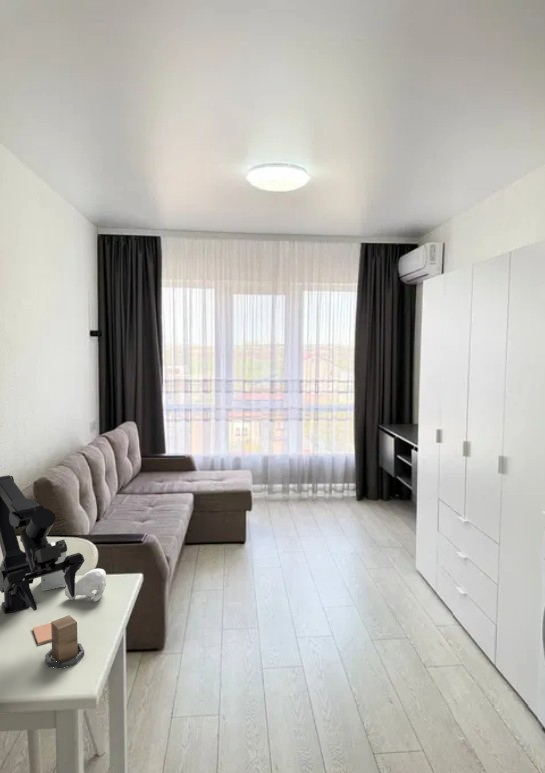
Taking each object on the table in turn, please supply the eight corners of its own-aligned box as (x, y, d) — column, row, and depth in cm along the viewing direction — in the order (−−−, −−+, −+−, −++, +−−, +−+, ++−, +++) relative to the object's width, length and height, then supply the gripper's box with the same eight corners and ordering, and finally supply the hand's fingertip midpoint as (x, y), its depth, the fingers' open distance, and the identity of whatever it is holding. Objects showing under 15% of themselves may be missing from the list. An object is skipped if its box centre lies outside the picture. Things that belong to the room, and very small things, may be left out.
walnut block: (52, 657, 121) (51, 621, 120) (70, 649, 124) (69, 615, 123) (59, 665, 118) (58, 629, 117) (77, 657, 121) (77, 622, 120)
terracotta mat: (32, 630, 132) (32, 627, 132) (64, 620, 137) (64, 618, 137) (38, 645, 126) (38, 642, 126) (71, 634, 130) (71, 632, 130)
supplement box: (41, 592, 153) (40, 552, 152) (41, 581, 160) (40, 543, 159) (67, 587, 156) (66, 548, 155) (66, 577, 162) (65, 539, 162)
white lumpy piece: (103, 572, 147) (60, 580, 144) (107, 600, 148) (64, 608, 145) (106, 563, 153) (64, 570, 151) (109, 590, 154) (68, 597, 151)
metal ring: (43, 654, 122) (43, 649, 122) (78, 643, 127) (78, 638, 127) (50, 672, 115) (49, 667, 115) (87, 660, 120) (87, 655, 120)
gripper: (4, 541, 119) (23, 602, 113) (80, 522, 133) (101, 576, 126) (-5, 563, 126) (12, 622, 119) (68, 543, 139) (87, 595, 132)
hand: (55, 603), depth 124 cm, fingers open, 9 cm apart
